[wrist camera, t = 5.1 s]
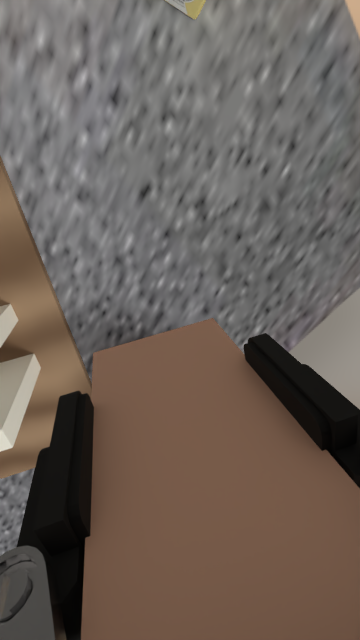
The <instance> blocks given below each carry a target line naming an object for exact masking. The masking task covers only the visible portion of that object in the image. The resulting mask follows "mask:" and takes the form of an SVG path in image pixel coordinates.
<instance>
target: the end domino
mask: <svg viewBox="0 0 360 640" xmlns="http://www.w3.org/2000/svg"><path fill="white" fill-rule="evenodd" d="M91 401H92V404H93V406H94V425H93V460H92V494H91V529H90V536H89V537H86V538H85V555H84V578H83V602H82V625H81V640H360V488H359V487H358V486H357V485H356V484H355V482H354V481H353V480H352V479H351V478H350V477H349V476H348V474H347V473H346V472H345V471H344V470H343V469H342V467H341V466H340V465H339V464H338V463H337V462H336V460H335V459H334V458H333V457H332V456H331V455H330V453H329V452H328V451H327V450H323V451H321V449H320V448H319V447H318V446H317V445H316V443H315V442H314V441H313V440H312V439H311V438H310V436H309V435H308V434H307V433H306V432H305V430H304V429H303V428H302V427H301V426H300V424H299V423H298V422H297V421H296V420H295V418H294V417H293V416H292V415H291V414H290V412H289V411H288V410H287V409H286V408H285V407H284V405H283V404H282V403H281V402H280V401H279V399H278V398H277V397H276V396H275V395H274V393H273V392H272V391H271V390H270V389H269V387H268V386H267V385H266V384H265V383H264V381H263V380H262V379H261V378H260V377H259V376H258V374H257V373H256V372H255V371H254V370H253V368H252V367H251V366H250V365H249V364H248V362H247V361H246V360H245V355H244V354H243V352H242V351H241V350H240V349H239V348H238V347H237V346H236V344H235V343H234V342H233V341H232V340H231V339H230V337H229V336H228V335H227V334H226V333H225V332H224V330H223V329H222V328H221V327H220V326H219V325H218V323H217V322H216V321H215V320H214V319H213V318H212V319H208V320H205V321H201V322H198V323H194V324H191V325H187V326H184V327H181V328H177V329H174V330H170V331H167V332H163V333H160V334H156V335H153V336H150V337H146V338H143V339H139V340H136V341H132V342H129V343H125V344H122V345H118V346H115V347H112V348H108V349H105V350H101V351H98V352H94V353H93V370H92V393H91Z"/></svg>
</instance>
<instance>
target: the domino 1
mask: <svg viewBox="0 0 360 640" xmlns="http://www.w3.org/2000/svg"><path fill="white" fill-rule="evenodd" d="M17 322H18V318H17V316H16V314H15V312H14V310H13V308H12V306H11V304H7V305H3V306H0V348H1V346H2V345H3V343H4V342H5V340H6V339H7V337H8V336H9V334H10V333H11V331H12V329H13V328H14V326H15V325H16V323H17Z"/></svg>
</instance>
